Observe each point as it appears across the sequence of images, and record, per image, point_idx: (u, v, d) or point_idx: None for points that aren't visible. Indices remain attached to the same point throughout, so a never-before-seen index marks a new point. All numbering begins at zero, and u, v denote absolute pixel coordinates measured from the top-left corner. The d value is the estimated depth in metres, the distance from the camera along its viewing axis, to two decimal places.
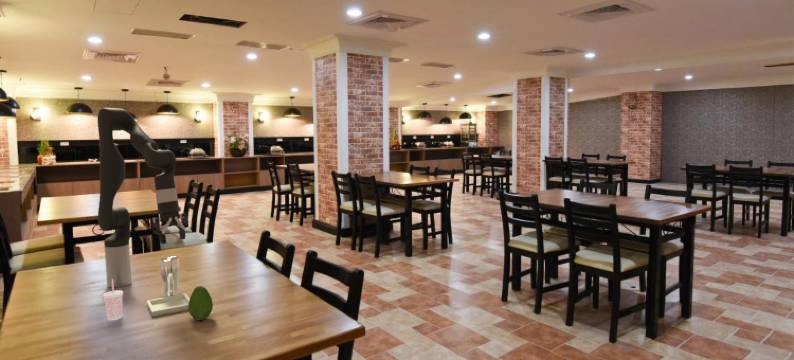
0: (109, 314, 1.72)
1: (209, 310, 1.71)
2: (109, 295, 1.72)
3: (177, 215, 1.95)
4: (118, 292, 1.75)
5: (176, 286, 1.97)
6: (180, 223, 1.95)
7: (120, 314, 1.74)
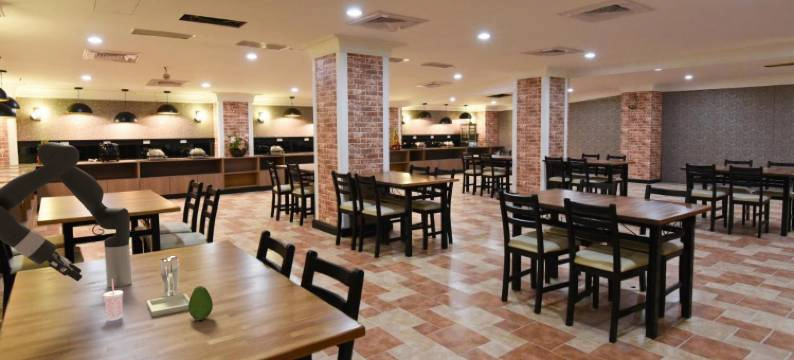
0: (109, 314, 1.72)
1: (209, 310, 1.71)
2: (109, 295, 1.72)
3: (50, 263, 1.60)
4: (118, 292, 1.75)
5: (176, 286, 1.97)
6: None
7: (120, 314, 1.74)
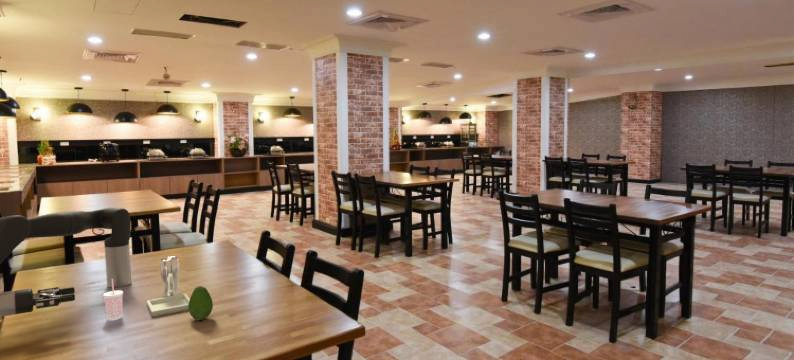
0: (109, 314, 1.72)
1: (209, 310, 1.71)
2: (109, 295, 1.71)
3: None
4: (118, 292, 1.75)
5: (176, 286, 1.97)
6: None
7: (120, 314, 1.74)
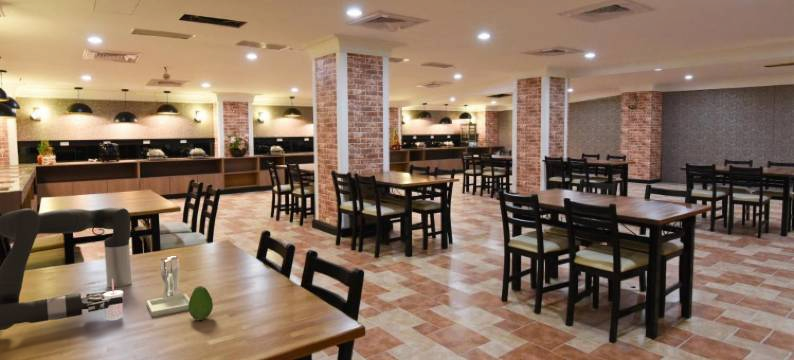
0: (109, 314, 1.72)
1: (209, 310, 1.71)
2: (109, 295, 1.71)
3: None
4: (118, 292, 1.75)
5: (176, 286, 1.97)
6: None
7: (120, 314, 1.74)
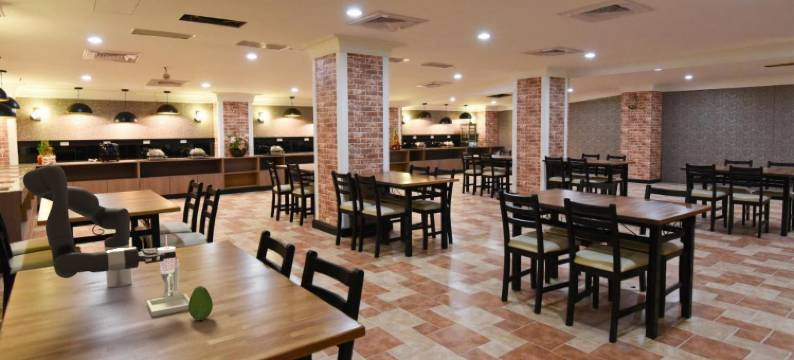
0: (163, 268, 1.80)
1: (209, 310, 1.71)
2: (163, 249, 1.80)
3: None
4: (171, 247, 1.83)
5: (176, 286, 1.97)
6: None
7: (173, 268, 1.82)
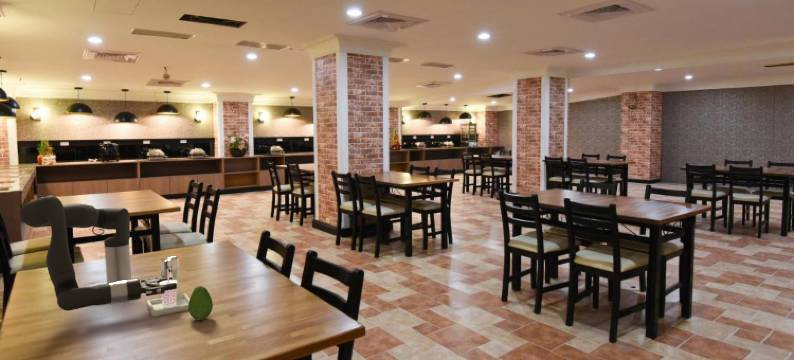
0: (165, 302, 1.82)
1: (209, 310, 1.71)
2: None
3: None
4: (172, 281, 1.85)
5: None
6: None
7: (175, 302, 1.84)
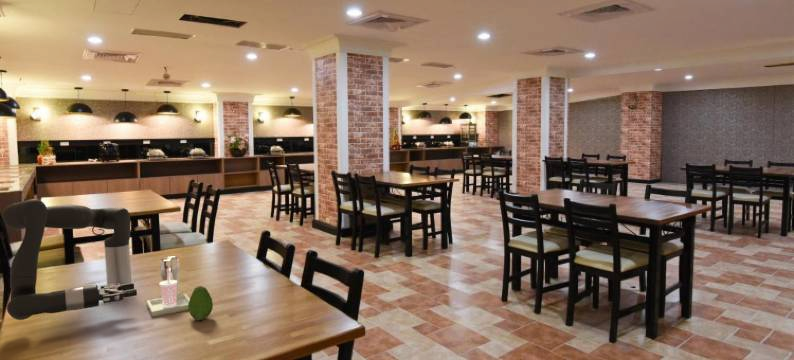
0: (165, 302, 1.82)
1: (209, 310, 1.71)
2: (165, 284, 1.82)
3: None
4: (172, 281, 1.85)
5: None
6: None
7: (175, 302, 1.84)
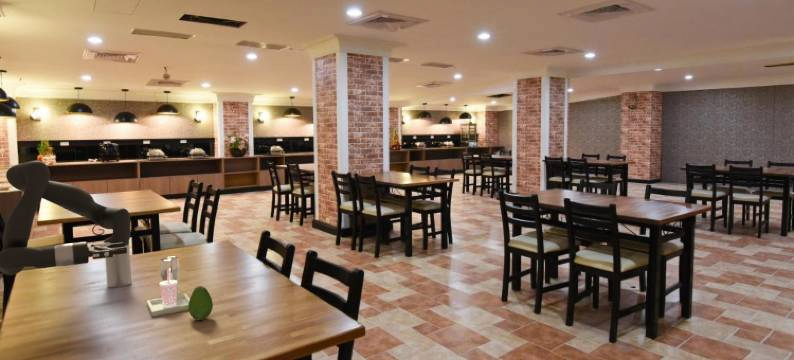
0: (165, 302, 1.82)
1: (209, 310, 1.71)
2: (165, 284, 1.82)
3: None
4: (172, 281, 1.85)
5: None
6: None
7: (175, 302, 1.84)
